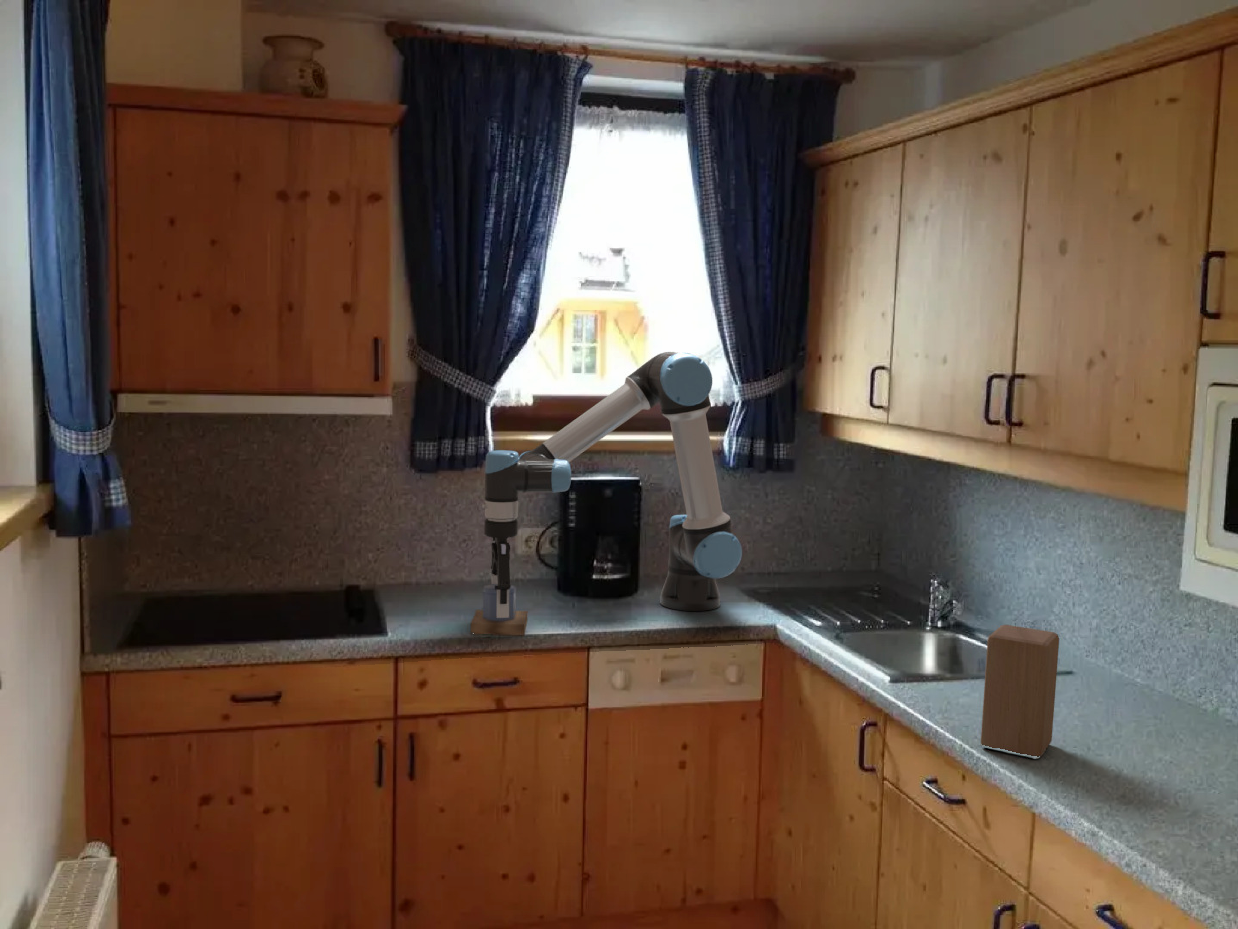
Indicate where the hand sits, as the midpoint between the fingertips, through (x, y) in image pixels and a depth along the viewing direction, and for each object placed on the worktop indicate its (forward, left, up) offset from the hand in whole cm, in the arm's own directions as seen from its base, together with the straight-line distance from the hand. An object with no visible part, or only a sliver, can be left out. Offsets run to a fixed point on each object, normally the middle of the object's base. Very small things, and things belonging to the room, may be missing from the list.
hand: (499, 610), depth 263 cm
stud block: (0, 0, -4) cm, 4 cm away
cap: (0, 0, -2) cm, 2 cm away
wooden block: (-94, +70, -4) cm, 117 cm away
